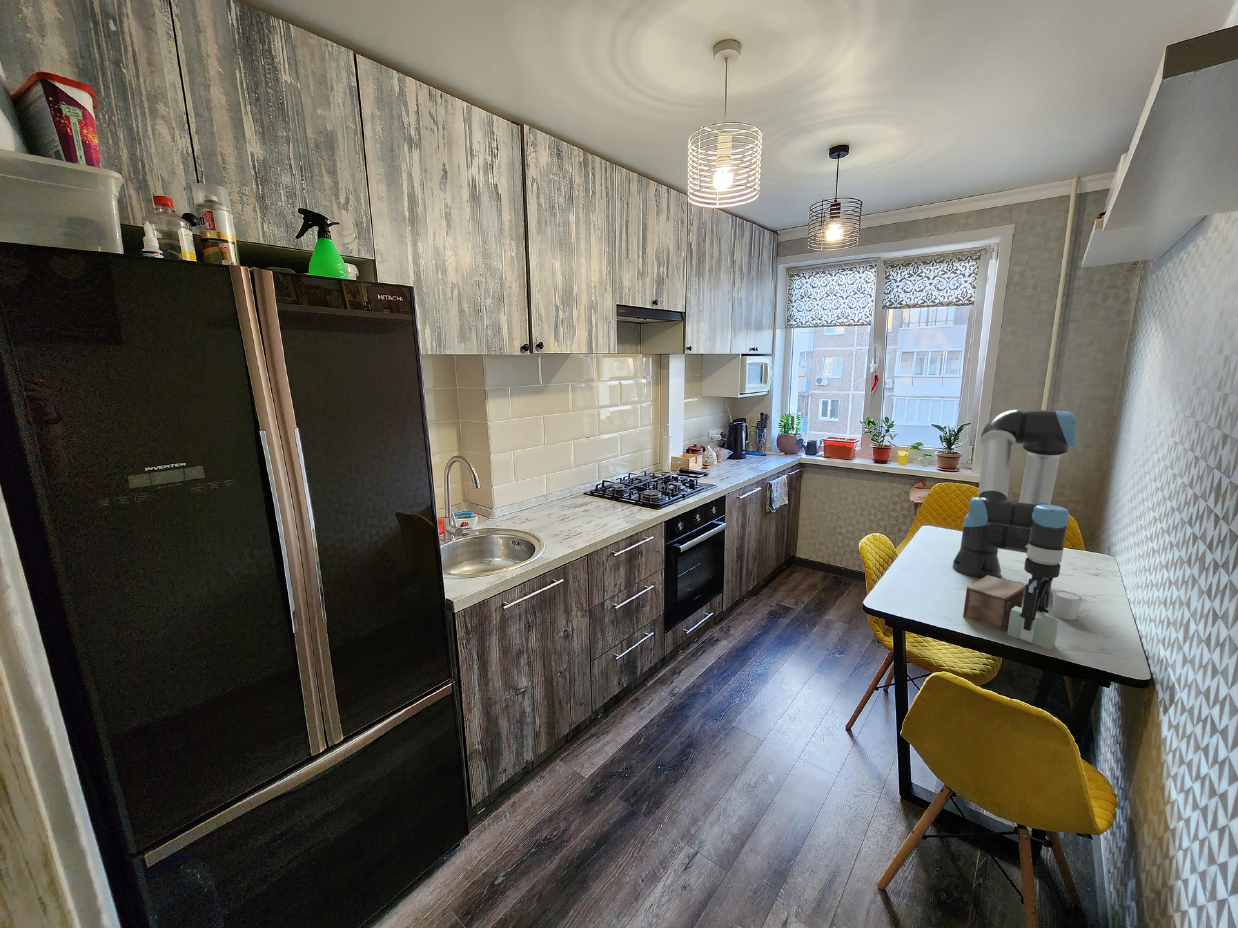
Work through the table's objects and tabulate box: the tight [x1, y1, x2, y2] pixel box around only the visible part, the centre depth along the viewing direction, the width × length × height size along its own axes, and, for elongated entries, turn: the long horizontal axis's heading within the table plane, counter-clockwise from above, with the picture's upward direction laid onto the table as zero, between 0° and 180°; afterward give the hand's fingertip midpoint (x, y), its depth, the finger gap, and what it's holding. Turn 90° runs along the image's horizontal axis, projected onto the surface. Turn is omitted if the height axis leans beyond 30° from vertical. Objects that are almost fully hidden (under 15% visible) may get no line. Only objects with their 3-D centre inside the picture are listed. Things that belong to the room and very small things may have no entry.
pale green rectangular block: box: [1006, 606, 1060, 650], centre depth 143 cm, size 4×10×8 cm, turn 35°
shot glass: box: [1052, 590, 1083, 621], centre depth 157 cm, size 7×7×7 cm
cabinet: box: [962, 575, 1026, 631], centre depth 156 cm, size 11×16×10 cm
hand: (1030, 635), depth 143 cm, fingers open, 6 cm apart
